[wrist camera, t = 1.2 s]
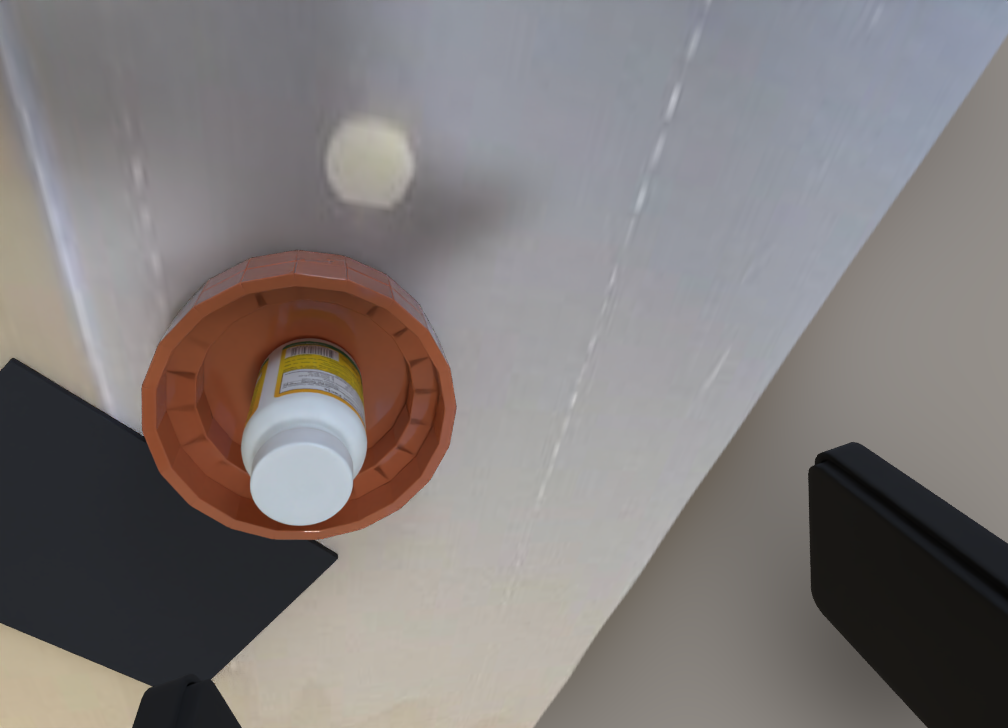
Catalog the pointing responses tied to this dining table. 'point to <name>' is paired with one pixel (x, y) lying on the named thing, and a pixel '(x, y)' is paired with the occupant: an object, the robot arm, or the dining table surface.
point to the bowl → (236, 364)
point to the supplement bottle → (305, 432)
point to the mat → (124, 546)
